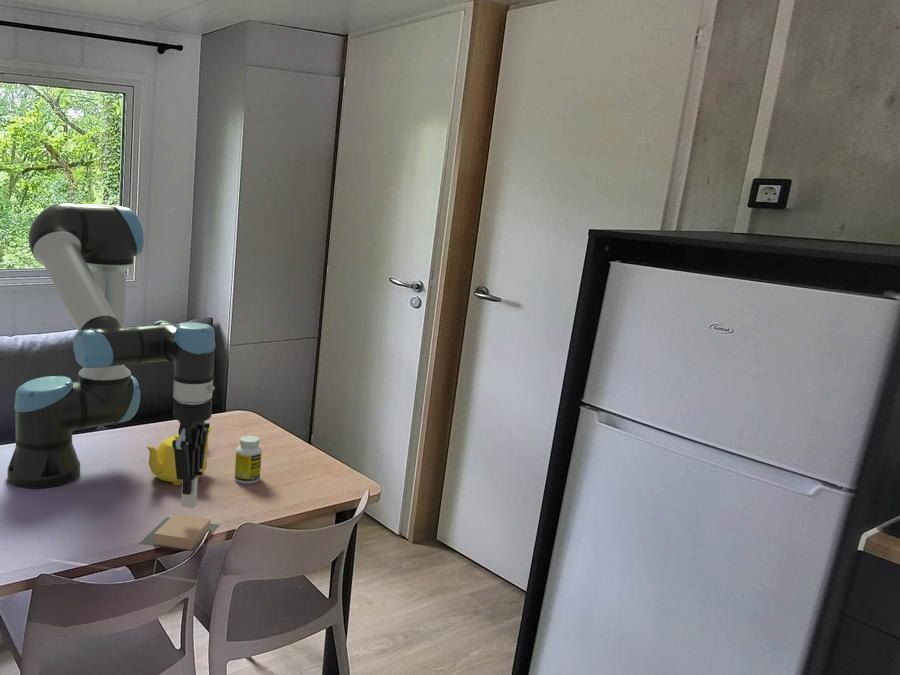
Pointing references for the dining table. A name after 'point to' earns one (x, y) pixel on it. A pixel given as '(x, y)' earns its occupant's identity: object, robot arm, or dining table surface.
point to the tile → (182, 531)
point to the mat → (150, 541)
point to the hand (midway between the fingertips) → (188, 505)
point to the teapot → (168, 460)
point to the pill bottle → (248, 460)
